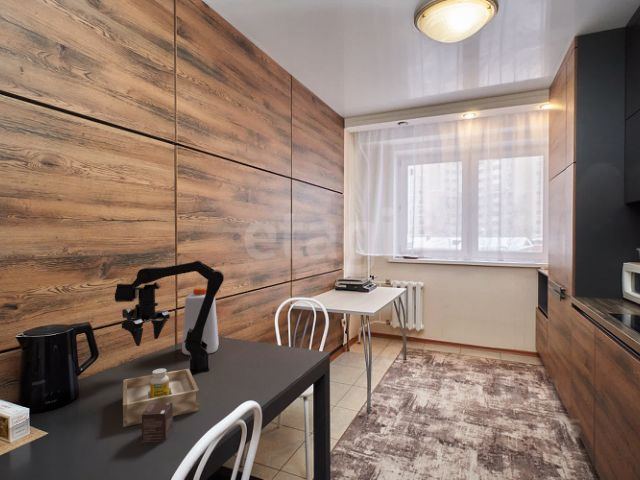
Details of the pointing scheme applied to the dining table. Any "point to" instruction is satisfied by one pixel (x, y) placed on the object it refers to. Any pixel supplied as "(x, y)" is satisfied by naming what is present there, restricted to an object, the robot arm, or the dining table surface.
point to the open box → (138, 397)
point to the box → (157, 422)
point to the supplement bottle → (159, 383)
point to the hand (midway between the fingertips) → (147, 342)
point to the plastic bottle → (190, 318)
